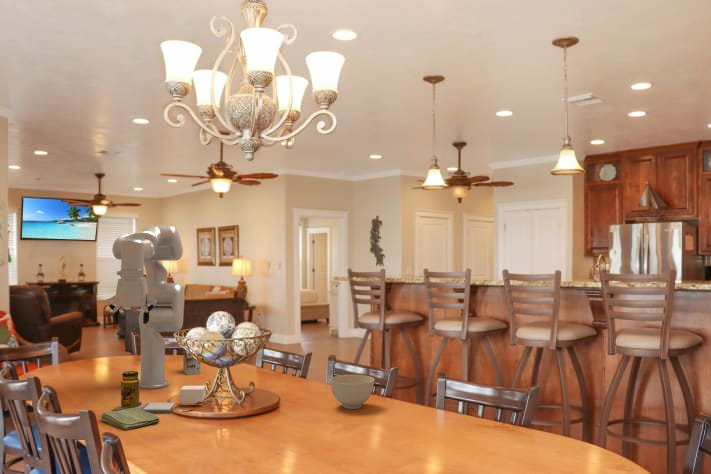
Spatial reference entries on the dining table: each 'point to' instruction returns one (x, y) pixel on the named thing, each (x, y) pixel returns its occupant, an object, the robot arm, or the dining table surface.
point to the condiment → (130, 390)
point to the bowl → (352, 389)
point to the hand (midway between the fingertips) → (131, 323)
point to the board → (153, 407)
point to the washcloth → (129, 418)
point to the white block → (192, 394)
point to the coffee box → (190, 365)
